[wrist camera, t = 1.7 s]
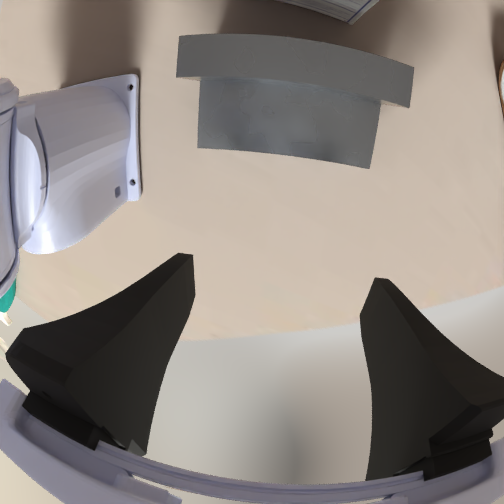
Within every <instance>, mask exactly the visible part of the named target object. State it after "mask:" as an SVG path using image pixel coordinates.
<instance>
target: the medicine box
mask: <svg viewBox="0 0 504 504" xmlns="http://www.w3.org/2000/svg"><path fill="white" fill-rule="evenodd" d="M276 1H280V2H284V3H288V4H292V5H296V6H300V7H303V8H307V9H310V10H313V11H316V12H319V13H322V14H325V15H328V16H331V17H334V18H336V19H339V20H342V21H344V22H346V23H348V24H350V25H352V24H353V23H355V22H356V21H357V20H358V19H359V18H360V17H361V16H362V15H363V14H364V13H365V12H366V11H367V10H369V9H370V8H371V7H372V6H374V5H375V4H376V3H377V2H378V1H380V0H276Z"/></svg>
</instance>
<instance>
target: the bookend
mask: <svg viewBox="0 0 504 504" xmlns="http://www.w3.org/2000/svg"><path fill="white" fill-rule="evenodd" d="M413 74H414V67H411V66H409V65H406V64H403V63H400V62H398V61H395V60H392V59H389V58H385V57H382V56H379V55H375V54H372V53H368V52H365V51H361V50H357V49H353V48H349V47H344V46H340V45H335V44H330V43H325V42H319V41H313V40H307V39H300V38H292V37H283V36H273V35H259V34H199V35H185V36H179V45H178V58H177V72H176V78H184V79H191V80H197V81H200V96H199V116H198V147H197V148H209V149H226V150H239V151H251V152H261V153H271V154H280V155H288V156H295V157H303V158H310V159H316V160H323V161H329V162H335V163H340V164H346V165H351V166H356V167H361V168H366V169H369V168H370V164H371V159H372V154H373V148H374V143H375V137H376V132H377V126H378V120H379V113H380V106H381V104H385V105H392V106H399V107H405V108H409V107H410V100H411V92H412V84H413Z"/></svg>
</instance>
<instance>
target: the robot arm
mask: <svg viewBox="0 0 504 504" xmlns="http://www.w3.org/2000/svg"><path fill="white" fill-rule="evenodd" d="M131 84H132V85H133V89H132V90H130V88H129V87H130V85H131ZM138 88H139V78H138V76H137V75H136V74H126V75H120V76H114V77H108V78H103V79H98V80H94V81H89V82H85V83H81V84H77V85H73V86H69V87H66V88H62V89H59V90H53V91H47V92H41V93H35V94H30V95H25V96H21V97H18V96H19V89H18V88H17V87H16V86H14V84H13V83H12V82H11V81H10V79H8V78H0V298H1V297H2V296H3V295H4V294H5V293H6V292H7V291H8V290H9V288H10V287H11V285H12V284H13V282H14V280H15V278H16V276H17V273H18V269H19V263H20V256H19V250H18V249H19V248H20V247H21V246H22V247H23V249H24V250H25V251H27V252H29V253H32V254H47V253H53V252H57V251H60V250H63V249H65V248H68V247H70V246H72V245H74V244H76V243H78V242H79V241H81V240H82V239H84V238H85V237H87V236H88V235H89V234H90V233H91V232H92V231H93V230H94V229H96V228H97V227H98V226H99V225H100V224H101V223H102V222H103V221H104V220H106V219H107V218H108V217H109V216H110V215H111V214H112V213H114V212H115V211H116V210H117V209H118V208H119V207H121V206H122V205H123V204H124V203H125V202H127V201H137V200H138V199H140V197H141V182H140V166H139V143H138ZM132 179H134V180H135V182H136V183H135V184H134V183H133V182H132ZM194 298H195V281H194V265H193V255H191V254H183V253H177V254H176V255H174V256H173V257H171V258H170V259H168V260H167V261H166V262H164V263H163V264H161V265H160V266H159V267H157V268H156V269H154V270H153V271H152V272H150V273H149V274H147V275H146V276H144V277H143V278H142V279H140V280H138V281H137V282H135V283H134V284H132V285H131V286H129V287H127V288H126V289H124V290H123V291H121V292H119V293H118V294H116V295H114V296H112V297H110V298H108V299H107V300H105V301H103V302H101V303H99V304H97V305H94V306H92V307H90V308H87V309H85V310H83V311H81V312H78V313H76V314H73V315H70V316H68V317H65V318H62V319H59V320H56V321H52V322H49V323H45V324H41V325H37V326H33V327H29V328H24V329H23V330H22V331H21V332H20V334H19V335H18V337H17V338H16V339H15V341H14V342H13V343H12V345H11V346H10V348H9V349H8V350H7V352H6V353H5V355H6V360H7V362H8V363H9V365H10V366H11V368H12V369H13V371H14V372H15V373H16V374H17V376H18V377H19V378H20V379H21V380H22V381H23V383H24V384H25V385H26V386H27V387H28V388H29V390H30V392H29V394H28V396H27V395H25V394H24V393H23V392H22V391H21V390H19V389H18V388H17V387H15V386H14V385H12V384H11V383H10V382H8V381H7V380H6V379H2V381H1V383H0V449H1V450H2V451H3V452H4V453H5V454H6V455H7V456H8V457H9V458H10V459H11V460H12V461H13V462H14V463H15V464H17V466H18V467H20V468H21V469H22V470H23V471H24V472H25V473H26V474H27V475H28V476H30V477H31V478H32V479H33V480H34V481H36V482H37V483H38V484H39V485H40V486H42V487H43V488H44V489H46V490H47V491H49V492H50V493H51V494H52V495H53V496H55V497H56V498H58V499H59V500H60V501H62V502H63V503H65V504H181V502H182V499H181V498H179V497H177V496H174V495H172V494H170V493H168V491H167V490H164V489H161V488H158V487H155V486H152V485H149V484H147V483H144V482H142V481H139V480H137V479H135V478H134V477H133V475H135V476H138V477H141V478H143V479H146V480H149V481H152V482H155V483H159V484H162V485H165V486H169V487H172V488H176V489H180V490H183V491H187V492H192V493H196V494H201V495H205V496H211V497H216V498H222V499H228V500H235V501H243V502H251V503H262V504H263V503H264V504H338V503H348V502H357V501H364V500H371V499H378V498H383V497H385V498H384V499H383V500H382V501H378V502H373V503H368V504H491V503H493V502H494V501H496V500H497V499H499V498H500V497H501V496H503V495H504V437H503V438H501V439H499V440H497V441H495V442H493V443H492V444H490V442H489V438H491V437H492V436H493V431H492V428H493V427H494V426H495V425H497V424H498V423H499V422H500V421H501V420H503V419H504V377H502V376H500V375H498V374H496V373H494V372H493V371H491V370H489V369H488V368H486V367H485V366H483V365H481V364H480V363H478V362H477V361H475V360H474V359H473V358H471V357H470V356H469V355H467V354H466V353H465V352H463V351H462V350H461V349H459V348H458V347H457V346H456V345H454V344H453V343H452V342H451V341H450V340H449V339H447V338H446V337H445V336H444V335H443V334H442V333H441V332H440V331H439V330H437V328H436V327H435V326H434V325H433V324H432V323H430V321H429V320H428V319H427V318H426V317H425V316H424V315H423V314H422V313H421V312H420V311H419V310H418V309H417V308H416V307H415V306H414V305H413V304H412V303H411V301H410V300H409V299H408V298H407V297H406V296H405V295H404V294H403V293H402V292H401V291H400V290H399V289H398V288H397V287H396V286H395V285H394V284H393V283H392V282H391V281H390V280H389V279H384V278H375V279H374V281H373V284H372V286H371V289H370V291H369V294H368V296H367V299H366V301H365V304H364V306H363V309H362V311H361V313H360V325H361V337H362V342H363V347H364V352H365V357H366V361H367V367H368V372H369V377H370V383H371V392H372V436H371V448H370V456H369V463H368V469H367V474H366V479H365V481H362V482H352V483H339V484H318V485H317V484H315V485H314V484H313V485H311V484H310V485H307V484H303V485H302V484H298V485H297V484H276V483H262V482H251V481H243V480H236V479H229V478H223V477H218V476H212V475H207V474H202V473H198V472H193V471H189V470H185V469H181V468H177V467H173V466H170V465H166V464H163V463H159V462H156V461H153V460H150V459H147V458H144V457H142V456H144V455H146V453H147V445H148V440H149V435H150V429H151V424H152V419H153V415H154V411H155V406H156V402H157V399H158V395H159V391H160V387H161V384H162V381H163V377H164V374H165V371H166V367H167V365H168V362H169V360H170V357H171V355H172V353H173V351H174V348H175V346H176V344H177V342H178V340H179V337H180V335H181V333H182V331H183V329H184V326H185V324H186V322H187V320H188V317H189V315H190V311H191V308H192V305H193V302H194Z"/></svg>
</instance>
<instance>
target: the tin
mask: <svg viewBox="0 0 504 504" xmlns="http://www.w3.org/2000/svg"><path fill="white" fill-rule="evenodd" d="M499 93H500V99H501V104H502V110H503V116H504V60H503V61H502V64H501V67H500V70H499Z"/></svg>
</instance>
